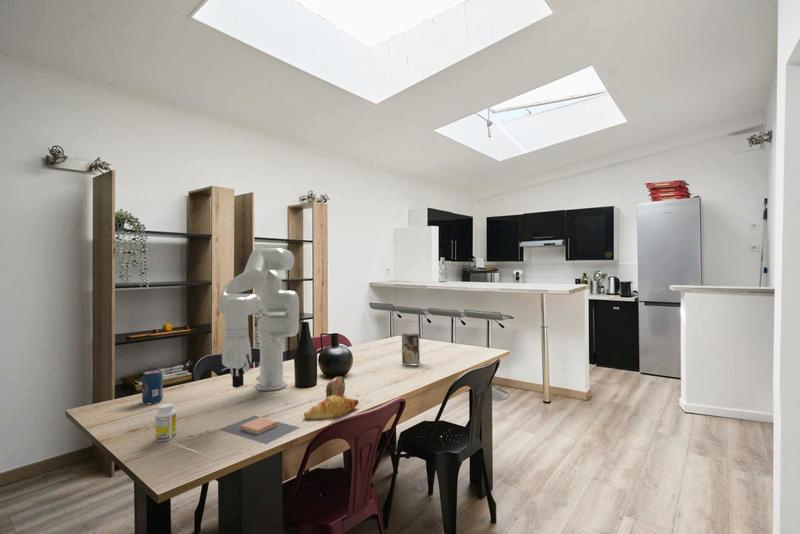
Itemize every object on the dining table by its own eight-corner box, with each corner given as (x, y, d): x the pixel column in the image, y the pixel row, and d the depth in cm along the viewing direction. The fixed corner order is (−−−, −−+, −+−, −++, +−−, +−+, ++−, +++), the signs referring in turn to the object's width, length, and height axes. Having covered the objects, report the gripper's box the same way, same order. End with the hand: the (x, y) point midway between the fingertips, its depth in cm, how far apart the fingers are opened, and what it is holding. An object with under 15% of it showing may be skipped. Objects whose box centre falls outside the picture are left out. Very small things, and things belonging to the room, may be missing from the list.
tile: (240, 425, 131) (257, 430, 127) (260, 417, 138) (277, 421, 134) (240, 430, 131) (257, 435, 127) (260, 421, 138) (277, 426, 134)
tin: (332, 406, 153) (332, 384, 153) (324, 406, 154) (324, 384, 154) (345, 394, 168) (345, 374, 168) (338, 394, 169) (338, 373, 169)
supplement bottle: (172, 433, 130) (171, 401, 130) (179, 437, 126) (179, 404, 126) (152, 438, 125) (152, 405, 125) (159, 443, 122) (159, 409, 122)
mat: (218, 430, 132) (218, 429, 132) (254, 416, 144) (254, 415, 144) (266, 444, 121) (266, 443, 121) (299, 428, 133) (299, 427, 133)
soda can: (139, 402, 160) (139, 371, 160) (159, 398, 165) (159, 368, 165) (145, 406, 155) (145, 375, 155) (165, 401, 160) (165, 371, 160)
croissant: (307, 433, 137) (311, 416, 134) (297, 412, 144) (300, 395, 141) (361, 417, 150) (366, 401, 147) (349, 398, 157) (353, 383, 154)
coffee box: (420, 363, 221) (420, 333, 221) (418, 365, 215) (418, 335, 215) (403, 362, 223) (403, 333, 223) (401, 365, 216) (401, 335, 216)
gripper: (212, 333, 138) (214, 386, 139) (242, 337, 131) (243, 393, 132) (231, 329, 145) (233, 379, 146) (260, 333, 137) (262, 386, 138)
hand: (238, 386), depth 139 cm, fingers closed
